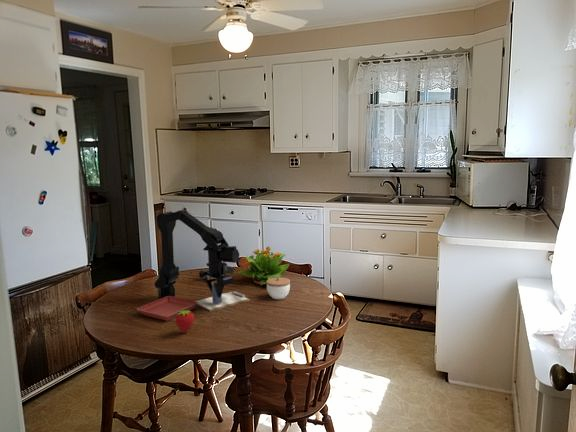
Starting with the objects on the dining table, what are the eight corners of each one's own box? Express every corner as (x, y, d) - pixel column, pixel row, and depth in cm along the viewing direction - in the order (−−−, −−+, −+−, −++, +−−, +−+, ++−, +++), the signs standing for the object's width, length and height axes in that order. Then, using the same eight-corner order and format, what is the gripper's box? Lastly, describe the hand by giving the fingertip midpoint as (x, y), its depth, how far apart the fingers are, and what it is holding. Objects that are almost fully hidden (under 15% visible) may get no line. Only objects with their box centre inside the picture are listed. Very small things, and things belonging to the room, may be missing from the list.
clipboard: (210, 311, 184) (210, 308, 183) (192, 302, 195) (192, 299, 195) (249, 300, 196) (249, 296, 196) (231, 292, 208) (230, 289, 208)
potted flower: (230, 286, 218) (228, 251, 215) (248, 273, 240) (247, 241, 238) (278, 289, 210) (277, 254, 208) (292, 276, 233) (291, 243, 230)
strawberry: (199, 331, 164) (197, 305, 163) (183, 338, 158) (182, 311, 156) (187, 327, 167) (186, 302, 166) (172, 334, 161) (170, 308, 160)
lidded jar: (262, 299, 198) (261, 278, 197) (274, 292, 207) (273, 272, 206) (283, 302, 193) (282, 281, 192) (294, 295, 202) (294, 275, 201)
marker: (215, 304, 188) (214, 283, 186) (210, 301, 191) (209, 281, 190) (224, 301, 190) (223, 281, 189) (218, 299, 194) (217, 279, 192)
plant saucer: (167, 324, 172) (166, 316, 172) (135, 316, 182) (135, 308, 181) (199, 309, 188) (198, 301, 187) (168, 302, 197) (168, 295, 196)
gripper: (243, 261, 186) (244, 297, 188) (219, 254, 200) (221, 287, 202) (220, 266, 179) (222, 303, 181) (197, 258, 193) (199, 292, 195)
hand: (216, 296), depth 190 cm, fingers closed on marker, 4 cm apart
